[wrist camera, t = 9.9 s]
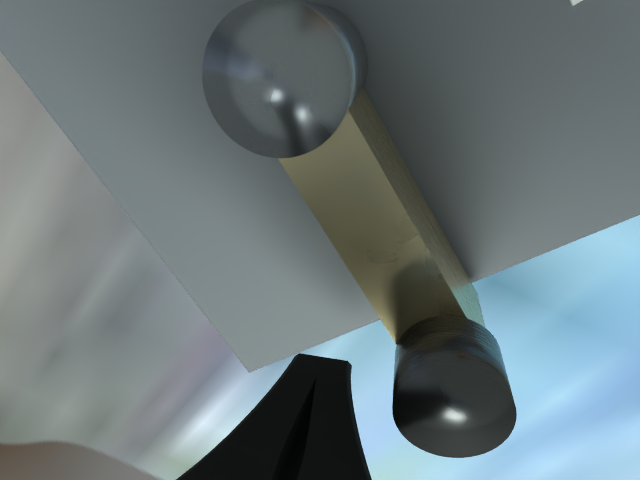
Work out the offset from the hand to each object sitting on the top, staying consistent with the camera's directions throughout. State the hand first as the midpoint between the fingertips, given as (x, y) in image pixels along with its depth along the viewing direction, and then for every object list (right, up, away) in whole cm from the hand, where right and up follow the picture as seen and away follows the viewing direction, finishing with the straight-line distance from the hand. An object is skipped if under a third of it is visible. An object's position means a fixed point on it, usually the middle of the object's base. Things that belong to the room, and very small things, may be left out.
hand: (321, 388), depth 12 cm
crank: (+1, +5, 0) cm, 5 cm away
